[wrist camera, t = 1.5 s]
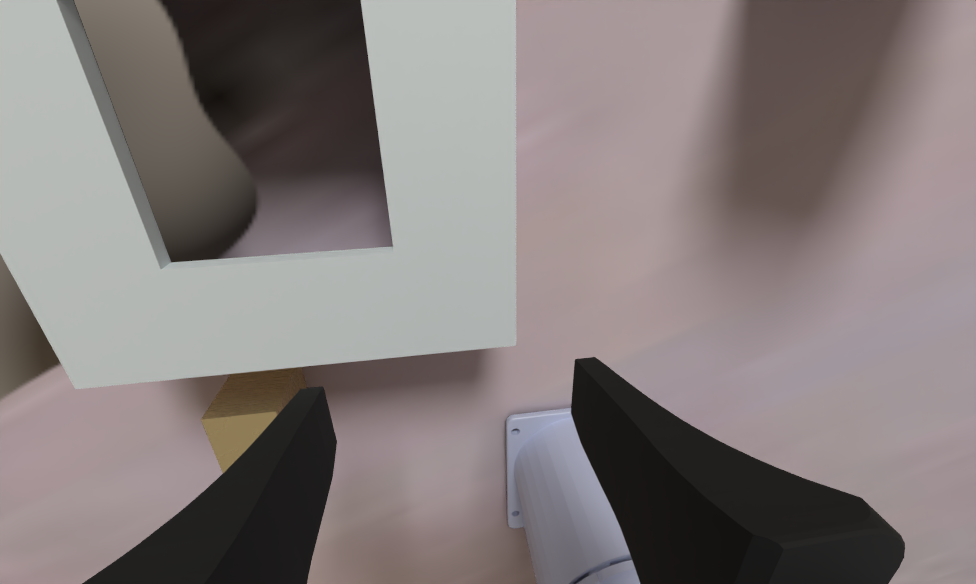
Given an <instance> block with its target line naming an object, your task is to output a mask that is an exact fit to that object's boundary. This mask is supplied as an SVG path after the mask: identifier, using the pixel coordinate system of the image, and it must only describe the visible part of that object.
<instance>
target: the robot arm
mask: <svg viewBox="0 0 976 584" xmlns="http://www.w3.org/2000/svg"><path fill="white" fill-rule="evenodd" d="M515 428H516V429H517V430H515V431H512V430H513V429H515ZM336 444H337V440H336V436H335V432H334V428H333V424H332V420H331V416H330V412H329V408H328V404H327V400H326V396H325V392H324V388H323V387H314V388H305V389H300V390H299V391H298V392H297V393H296V395H295V396H294V397H293V398H292V399H291V400H290V401H289V402H288V404H287V405H286V406H285V407H284V408H283V409H282V411H281V412H280V413H279V414H278V415H277V416H276V417H275V419H274V420H273V421H272V422H271V423H270V424H269V426H268V427H267V428H266V429H265V430H264V431H263V432H262V433H261V434H260V435H259V437H258V438H257V439H256V440H255V441H254V442H253V443H252V444H251V445H250V447H249V448H248V449H247V450H246V451H245V452H244V453H243V454H242V455H241V456H240V457H239V458H238V459H237V460H236V461H235V462H234V463H233V464H232V465H231V466H230V467H229V468H228V469H227V470H226V471H225V472H224V473H223V474H222V475H221V476H220V477H219V478H218V479H217V480H216V481H215V482H214V483H212V484H211V485H210V486H209V487H208V488H207V489H206V490H205V491H204V492H203V493H201V494H200V495H199V496H198V497H197V498H196V499H194V500H193V501H192V502H191V503H190V504H189V505H188V506H186V507H185V508H184V509H183V510H182V511H180V512H179V513H178V514H177V515H175V516H174V517H173V518H172V519H170V520H169V521H168V522H167V523H165V524H164V525H163V526H161V527H160V528H159V529H158V530H156V531H155V532H154V533H152V534H151V535H150V536H149V537H147V538H146V539H145V540H143V541H142V542H141V543H140V544H138V545H137V546H136V547H134V548H133V549H131V550H130V551H129V552H127V553H126V554H124V555H123V556H122V557H120V558H119V559H117V560H116V561H115V562H113V563H112V564H110V565H109V566H108V567H106V568H105V569H103V570H102V571H100V572H99V573H97V574H96V575H94V576H93V577H91V578H90V579H88V580H87V581H85V582H84V583H82V584H307V579H308V574H309V569H310V565H311V560H312V556H313V552H314V548H315V544H316V540H317V536H318V532H319V528H320V525H321V521H322V517H323V513H324V509H325V505H326V501H327V497H328V493H329V489H330V485H331V481H332V476H333V469H334V462H335V453H336ZM506 468H507V521H508V526H509V527H510V528H522V527H524V529H525V534H526V538H527V543H528V547H529V551H530V556H531V560H532V565H533V569H534V574H535V578H536V582H537V584H888V583H889V582H890V580H891V579H892V577H893V576H894V574H895V573H896V571H897V570H898V568H899V566H900V564H901V562H902V560H903V558H904V551H905V543H904V541H903V539H902V537H901V535H900V534H899V533H898V532H897V531H896V530H894V529H893V528H892V527H891V526H890V525H889V524H888V523H887V522H886V521H885V520H884V519H883V518H882V517H881V516H880V515H879V514H878V513H877V512H876V511H875V510H874V509H873V508H871V507H870V506H869V505H868V504H867V503H866V502H865V501H864V500H863V499H862V498H860V497H857V496H854V495H851V494H848V493H845V492H842V491H839V490H836V489H833V488H830V487H827V486H824V485H821V484H818V483H815V482H813V481H810V480H807V479H804V478H802V477H799V476H797V475H794V474H791V473H789V472H786V471H784V470H781V469H779V468H776V467H774V466H772V465H769V464H767V463H765V462H762V461H760V460H758V459H755V458H753V457H751V456H749V455H747V454H745V453H743V452H740V451H738V450H736V449H734V448H732V447H730V446H728V445H726V444H724V443H722V442H720V441H718V440H716V439H714V438H713V437H711V436H709V435H707V434H705V433H704V432H702V431H700V430H698V429H697V428H695V427H693V426H691V425H690V424H688V423H686V422H685V421H683V420H681V419H680V418H678V417H677V416H675V415H674V414H672V413H671V412H669V411H667V410H666V409H664V408H663V407H661V406H660V405H658V404H657V403H656V402H654V401H653V400H651V399H650V398H648V397H647V396H646V395H644V394H643V393H642V392H640V391H639V390H637V389H636V388H635V387H633V386H632V385H631V384H629V383H628V382H627V381H626V380H624V379H623V378H622V377H620V376H619V375H618V374H616V373H615V372H614V371H613V370H611V369H610V368H609V367H607V366H606V365H605V364H604V363H602V362H601V361H600V360H598V359H597V358H595V357H592V358H583V359H575V367H574V379H573V392H572V404H571V408H566V409H558V410H549V411H541V412H532V413H523V414H515V415H511V416H509V417H508V418H507V420H506Z"/></svg>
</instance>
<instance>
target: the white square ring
mask: <svg viewBox="0 0 976 584" xmlns="http://www.w3.org/2000/svg"><path fill="white" fill-rule="evenodd" d="M361 6H362V14H363V22H364V29H365V37H366V44H367V52H368V60H369V67H370V75H371V82H372V90H373V98H374V105H375V113H376V120H377V128H378V136H379V143H380V151H381V158H382V166H383V174H384V181H385V189H386V197H387V204H388V212H389V219H390V227H391V235H392V242H393V247H379V248H365V249H351V250H337V251H323V252H309V253H296V254H282V255H268V256H254V257H240V258H226V259H212V260H198V261H184V262H171V260H170V257H169V254H168V252H167V249H166V246H165V244H164V241H163V238H162V236H161V233H160V230H159V228H158V225H157V222H156V220H155V217H154V215H153V212H152V209H151V206H150V204H149V201H148V198H147V195H146V193H145V190H144V187H143V185H142V182H141V179H140V177H139V174H138V172H137V169H136V166H135V163H134V161H133V158H132V155H131V153H130V150H129V147H128V145H127V142H126V139H125V137H124V134H123V131H122V128H121V126H120V123H119V121H118V118H117V115H116V113H115V110H114V107H113V104H112V102H111V99H110V97H109V94H108V91H107V88H106V86H105V83H104V80H103V78H102V75H101V72H100V70H99V67H98V64H97V62H96V59H95V56H94V53H93V51H92V48H91V45H90V43H89V40H88V37H87V35H86V32H85V29H84V27H83V24H82V21H81V19H80V16H79V13H78V11H77V8H76V5H75V3H74V0H0V254H1V255H2V257H3V259H4V261H5V263H6V264H7V266H8V268H9V270H10V272H11V273H12V275H13V277H14V279H15V280H16V282H17V284H18V286H19V288H20V290H21V291H22V293H23V295H24V297H25V299H26V301H27V302H28V304H29V306H30V308H31V310H32V311H33V313H34V315H35V317H36V319H37V321H38V322H39V324H40V326H41V328H42V330H43V331H44V333H45V334H46V337H47V339H48V340H49V342H50V344H51V346H52V348H53V350H54V351H55V353H56V355H57V356H58V359H59V360H60V362H61V364H62V366H63V368H64V369H65V371H66V373H67V375H68V377H69V378H70V380H71V382H72V384H73V386H74V387H75V389H83V388H93V387H103V386H113V385H123V384H133V383H143V382H154V381H164V380H174V379H184V378H194V377H204V376H214V375H224V374H234V373H244V372H254V371H265V370H275V369H285V368H295V367H305V366H315V365H325V364H335V363H345V362H355V361H365V360H376V359H386V358H396V357H406V356H416V355H426V354H436V353H446V352H456V351H466V350H477V349H487V348H497V347H507V346H516V0H361Z"/></svg>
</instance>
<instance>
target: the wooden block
mask: <svg viewBox="0 0 976 584" xmlns="http://www.w3.org/2000/svg"><path fill="white" fill-rule="evenodd" d="M305 388H307V387H306V383H305V379H304V375H303V371H302V368H301V367H295V368H285V369H275V370H265V371H254V372H244V373H234V374H230V376H229V377H228V379H227V381H226V382H225V384H224V385H223V387H222V388H221V390H220V391H219V393H218V394H217V396H216V397H215V399H214V400H213V402H212V403H211V405H210V407H209V408H208V410H207V411H206V413H205V414H204V416H203V417H202V419H201V421H202V424H203V426H204V429H205V431H206V433H207V436H208V438H209V441H210V443H211V446H212V448H213V450H214V453H215V455H216V458H217V460H218V463H219V465H220V467H221V470H222V472H223V473H224V472H225V471H226V470H227V469H228V468H229V467H230V466H231V465H232V464H233V463H234V462H235V461H236V460H237V459H238V458H239V457H240V456H241V455H242V454H243V453H244V452H245V451H246V450H247V449H248V448H249V447H250V445H251V444H252V443H253V442H254V441H255V440H256V439H257V438H258V437H259V435H260V434H261V433H262V432H263V431H264V430H265V429H266V428H267V427H268V426H269V424H270V423H271V422H272V421H273V420H274V419H275V417H276V416H277V415H278V414H279V413H280V412H281V411H282V409H283V408H284V407H285V406H286V405H287V404H288V402H289V401H290V400H291V399H292V398H293V397H294V396H295V395H296V393H297V392H298V391H299V390H300V389H305Z"/></svg>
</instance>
